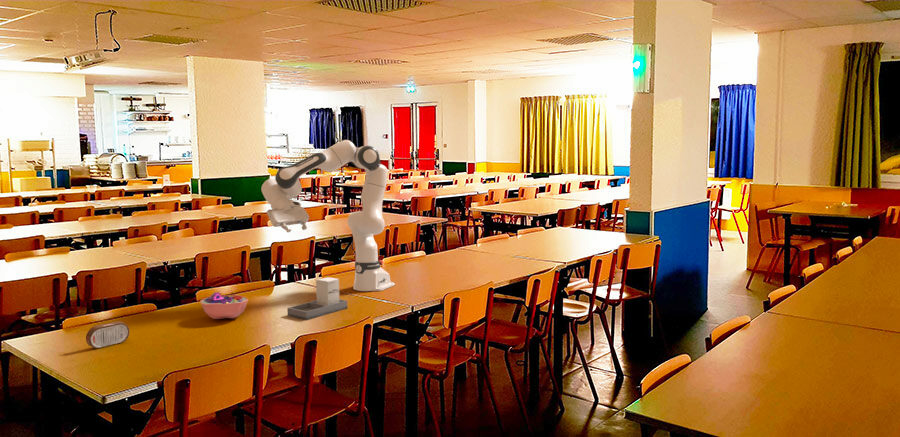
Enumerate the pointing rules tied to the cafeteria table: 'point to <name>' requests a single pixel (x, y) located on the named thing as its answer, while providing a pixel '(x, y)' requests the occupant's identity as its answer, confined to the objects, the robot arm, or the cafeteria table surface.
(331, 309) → the grey divided tray
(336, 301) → the supplement box
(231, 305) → the cell model
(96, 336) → the tin
